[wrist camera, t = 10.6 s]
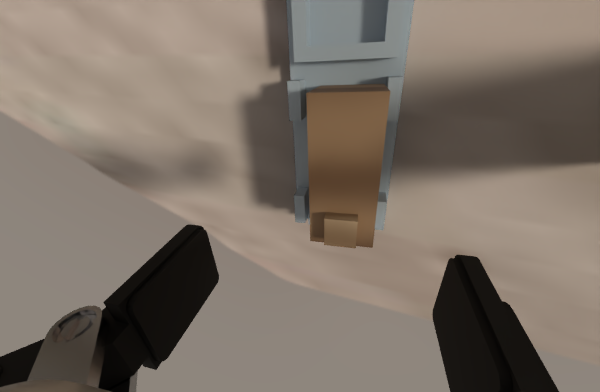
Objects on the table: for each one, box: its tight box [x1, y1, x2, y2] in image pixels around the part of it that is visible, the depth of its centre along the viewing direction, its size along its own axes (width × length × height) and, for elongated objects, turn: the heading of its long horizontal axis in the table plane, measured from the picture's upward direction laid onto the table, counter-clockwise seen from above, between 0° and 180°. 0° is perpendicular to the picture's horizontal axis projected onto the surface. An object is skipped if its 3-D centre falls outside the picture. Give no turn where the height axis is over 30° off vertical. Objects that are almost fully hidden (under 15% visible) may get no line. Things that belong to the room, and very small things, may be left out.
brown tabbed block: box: [306, 84, 390, 248], centre depth 20 cm, size 12×5×7 cm, turn 2°
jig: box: [286, 0, 414, 230], centre depth 21 cm, size 22×9×3 cm, turn 2°
